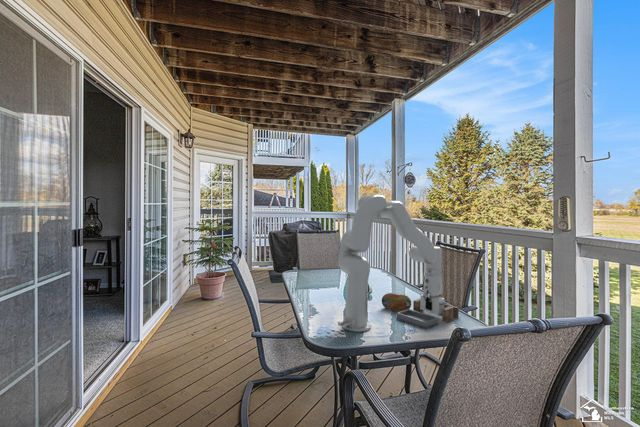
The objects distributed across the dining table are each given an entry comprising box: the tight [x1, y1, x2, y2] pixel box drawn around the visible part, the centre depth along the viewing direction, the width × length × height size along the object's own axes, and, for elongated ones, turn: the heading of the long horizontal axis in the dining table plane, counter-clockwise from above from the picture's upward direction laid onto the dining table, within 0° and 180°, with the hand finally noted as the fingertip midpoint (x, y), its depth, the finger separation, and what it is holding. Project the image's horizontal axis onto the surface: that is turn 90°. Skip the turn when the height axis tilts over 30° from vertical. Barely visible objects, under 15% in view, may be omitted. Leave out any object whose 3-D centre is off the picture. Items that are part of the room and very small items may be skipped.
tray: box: [396, 308, 439, 330], centre depth 145 cm, size 10×16×3 cm, turn 38°
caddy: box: [419, 294, 447, 316], centre depth 152 cm, size 5×11×7 cm, turn 38°
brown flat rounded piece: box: [381, 292, 412, 312], centre depth 162 cm, size 15×3×8 cm, turn 62°
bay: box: [412, 298, 460, 324], centre depth 155 cm, size 11×18×6 cm, turn 38°
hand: (432, 308), depth 153 cm, fingers closed on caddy, 5 cm apart
